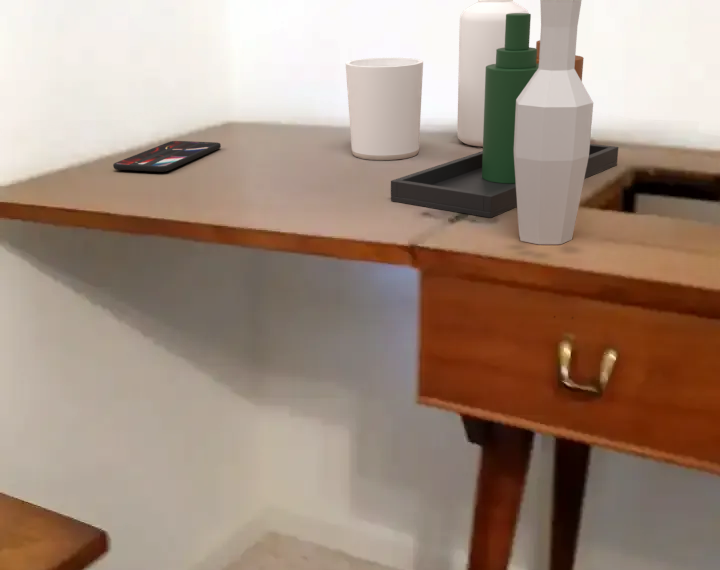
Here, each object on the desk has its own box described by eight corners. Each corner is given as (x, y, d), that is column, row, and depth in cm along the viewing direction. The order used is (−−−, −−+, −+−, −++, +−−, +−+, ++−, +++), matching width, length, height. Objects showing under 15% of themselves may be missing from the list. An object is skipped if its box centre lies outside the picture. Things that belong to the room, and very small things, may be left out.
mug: (436, 155, 115) (438, 62, 111) (371, 164, 112) (369, 69, 107) (389, 140, 124) (388, 54, 119) (327, 148, 120) (324, 60, 115)
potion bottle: (493, 151, 116) (499, -14, 108) (443, 142, 122) (445, -16, 114) (537, 141, 121) (547, -18, 113) (487, 133, 127) (493, -20, 118)
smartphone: (222, 142, 122) (165, 167, 109) (223, 147, 122) (166, 173, 109) (171, 140, 124) (109, 164, 111) (172, 145, 124) (110, 170, 111)
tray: (616, 165, 109) (618, 146, 108) (490, 218, 90) (491, 196, 89) (525, 153, 115) (526, 136, 114) (390, 200, 97) (390, 180, 96)
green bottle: (549, 175, 103) (560, 12, 95) (520, 186, 99) (529, 17, 91) (500, 168, 106) (507, 10, 99) (470, 179, 102) (475, 15, 95)
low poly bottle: (589, 230, 86) (613, -48, 76) (573, 250, 81) (597, -46, 70) (519, 224, 88) (533, -47, 78) (499, 243, 83) (512, -44, 73)
